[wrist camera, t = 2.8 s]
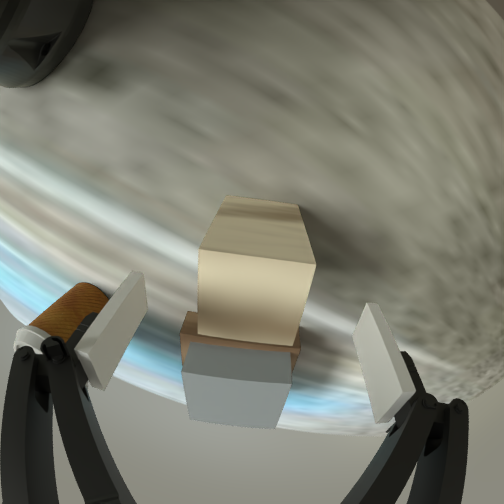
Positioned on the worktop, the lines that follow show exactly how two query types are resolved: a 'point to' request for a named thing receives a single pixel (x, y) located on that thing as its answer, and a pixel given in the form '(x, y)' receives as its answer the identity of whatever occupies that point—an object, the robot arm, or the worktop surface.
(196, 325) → the base slab
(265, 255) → the birch block
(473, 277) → the worktop surface
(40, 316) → the disposable coffee cup
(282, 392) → the top slab
